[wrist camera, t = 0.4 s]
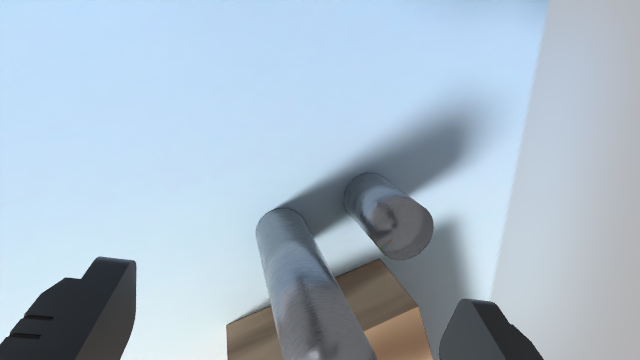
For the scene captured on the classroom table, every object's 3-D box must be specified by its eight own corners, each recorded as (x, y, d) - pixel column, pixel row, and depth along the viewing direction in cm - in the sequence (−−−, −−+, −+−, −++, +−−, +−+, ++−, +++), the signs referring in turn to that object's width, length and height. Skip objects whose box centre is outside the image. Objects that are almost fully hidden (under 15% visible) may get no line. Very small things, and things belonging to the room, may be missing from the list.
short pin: (337, 183, 31) (370, 217, 24) (383, 165, 31) (426, 194, 25) (351, 226, 32) (385, 268, 26) (394, 208, 33) (438, 245, 26)
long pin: (247, 220, 30) (275, 363, 16) (296, 200, 30) (364, 322, 16) (266, 262, 31) (306, 427, 17) (312, 242, 32) (387, 387, 18)
